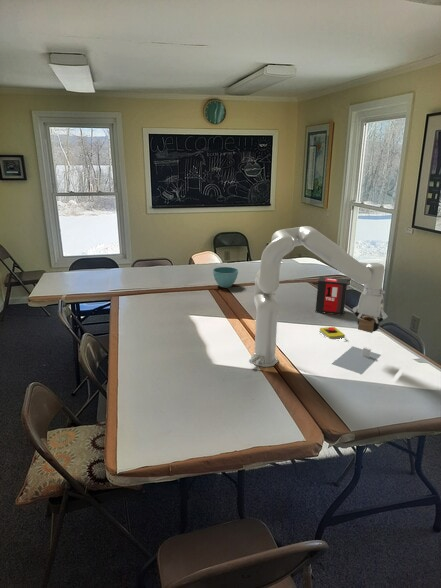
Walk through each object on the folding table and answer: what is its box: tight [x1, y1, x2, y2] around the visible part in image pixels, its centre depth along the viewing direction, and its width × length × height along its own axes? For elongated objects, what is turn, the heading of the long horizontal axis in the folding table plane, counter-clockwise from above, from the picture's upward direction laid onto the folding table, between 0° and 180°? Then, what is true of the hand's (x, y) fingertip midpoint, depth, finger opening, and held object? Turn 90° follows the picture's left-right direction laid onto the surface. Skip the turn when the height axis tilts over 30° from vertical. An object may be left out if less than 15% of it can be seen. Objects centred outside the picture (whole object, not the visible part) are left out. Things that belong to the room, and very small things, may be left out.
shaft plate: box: [331, 346, 382, 375], centre depth 187 cm, size 24×14×6 cm, turn 140°
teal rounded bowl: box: [212, 266, 239, 289], centre depth 296 cm, size 18×18×12 cm
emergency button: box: [319, 326, 345, 340], centre depth 215 cm, size 9×4×15 cm
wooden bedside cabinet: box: [357, 315, 375, 334], centre depth 184 cm, size 6×6×5 cm
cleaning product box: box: [315, 276, 348, 316], centre depth 248 cm, size 16×9×20 cm, turn 71°
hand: (367, 328), depth 185 cm, fingers closed on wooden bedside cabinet, 6 cm apart
